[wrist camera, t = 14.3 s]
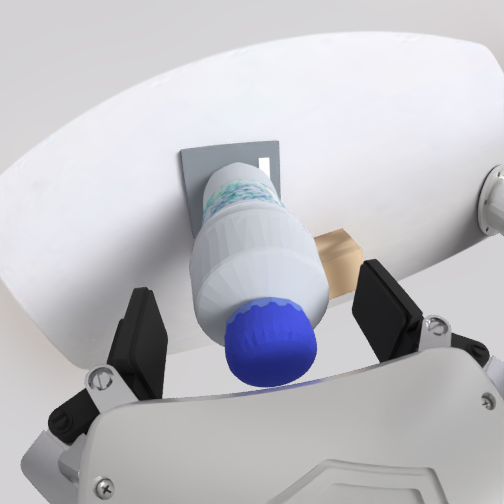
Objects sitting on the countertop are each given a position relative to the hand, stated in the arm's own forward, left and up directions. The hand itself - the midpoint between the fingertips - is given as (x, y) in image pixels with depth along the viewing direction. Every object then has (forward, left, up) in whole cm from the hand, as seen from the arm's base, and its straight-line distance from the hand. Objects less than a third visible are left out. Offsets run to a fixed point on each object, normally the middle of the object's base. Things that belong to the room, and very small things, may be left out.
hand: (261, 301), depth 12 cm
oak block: (-10, +9, -17) cm, 21 cm away
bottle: (0, 0, -16) cm, 16 cm away
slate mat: (0, 0, -17) cm, 17 cm away
